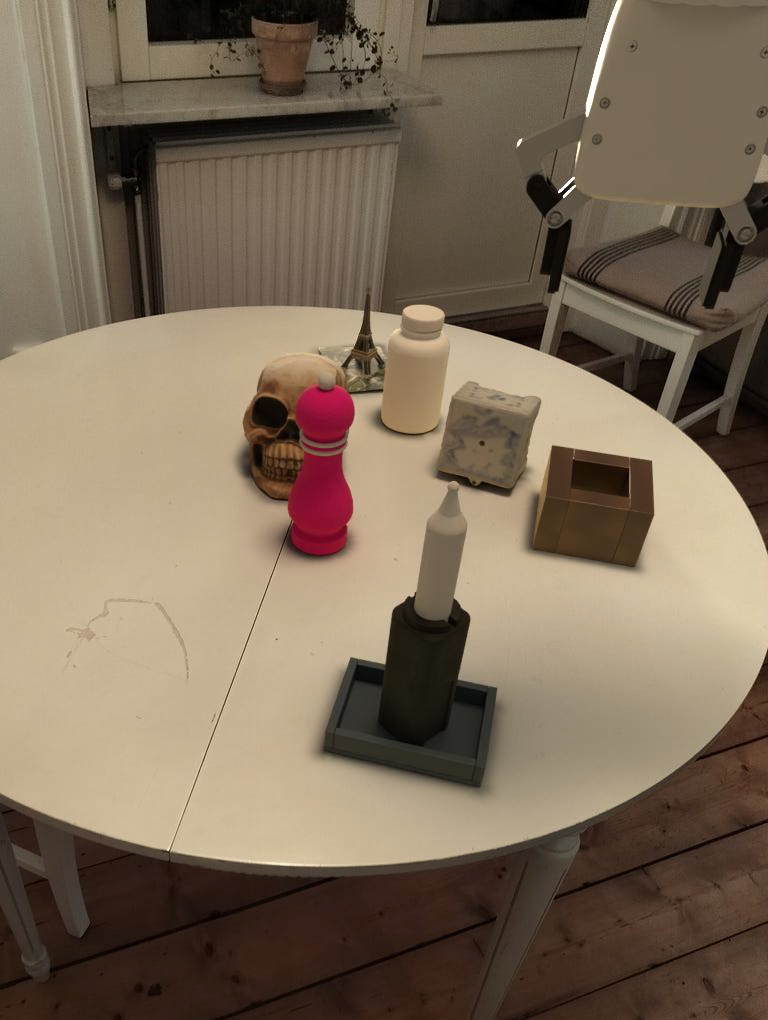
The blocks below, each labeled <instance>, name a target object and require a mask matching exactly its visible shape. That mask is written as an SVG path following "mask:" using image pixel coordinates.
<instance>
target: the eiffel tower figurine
mask: <svg viewBox="0 0 768 1020" xmlns="http://www.w3.org/2000/svg"><path fill="white" fill-rule="evenodd" d="M368 280H369V281H368V286H367V287H366V290H365V293H366V295H365V296H366V297H365V302H364V303H365V304H364V309H363V315H362V316H363V317H362V322H361V327H360V331H359V333H358V338H357V340H356V343H355V345H354V346H318V349H319V353H320V355H322V356H325V357H327V358H329V359H331V360H333V361H334V362H335V363H337V364H338V365H339V366H340V367H341V369H342V370H343V372H344V374H345V376H346V379H347V382H348V387H349V393H354V392H364V391H375V390H383V389H384V379H385V369H386V359H387V355H386V354H385V353H384V351H383V349H382V347H381V346H375V343H374V340H373V335H372V334H373V332H372V329H371V294H372V287H371V286H370V284H371V283H370V281H371V279H368Z"/></svg>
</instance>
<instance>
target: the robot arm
mask: <svg viewBox="0 0 768 1020" xmlns="http://www.w3.org/2000/svg"><path fill="white" fill-rule="evenodd" d="M575 142H577V143H576V147H575V154H574V160H573V161H574V162H573V165H574V175H573V177H572V178H571V179H570V180H569V181H568V182H567V183H566V184H565V185H564V186H563V187H561V189H559V190H558V189H557V187H556V185H555V184H554V183H553V182H552V180H551V178H550V177H549V176H548V174H547V173H546V169H545V166H544V165H545V164H544V162H543V158H544V157H545V156H546V155H549V154H550V153H553V152H555V151H557V150H559V149H561V148H564V147H566V146H568V145H571V144H572V143H575ZM764 155H766V156H768V0H616V3H615V5H614V8H613V10H612V13H611V16H610V18H609V22H608V25H607V28H606V31H605V34H604V37H603V40H602V43H601V46H600V51H599V54H598V57H597V61H596V64H595V67H594V71H593V76H592V80H591V84H590V87H589V92H588V96H587V99H586V103H585V108H584V109H582V110H579V111H577V112H575V113H573V114H571V115H569V116H566V117H564V118H563V119H560V120H558V121H556V122H554V123H552V124H549V125H547V126H545V127H543V128H540V129H538V130H536V131H534V132H532V133H530V134H528V135H526V136H523V137H521V139H519V140H518V142H517V145H516V149H515V157H516V160H517V163H518V167H519V171H520V173H521V176H522V179H523V183H524V186H525V191H526V194H527V196H528V197H529V198H530V200H531V201H532V202H533V204H534V206H535V207H536V209H537V210H538V211H539V213H540V214H541V216H542V217H543V218H544V220H545V225H546V226H547V233H546V238H545V241H544V248H543V253H542V258H541V263H540V267H539V272H538V273H539V275H543V276H549V277H548V282H547V289H546V294H550V295H551V294H552V295H555V294H556V293H559V290H560V286H561V283H562V277H563V273H564V268H565V263H566V258H567V254H568V249H569V244H570V239H571V234H572V224H573V219H571V218H572V217H573V216H574V215H575V214H576V213H577V212H579V210H581V209H582V208H583V207H584V206H585V205H586V204H587V203H588V202H589V201H591V200H592V199H596V200H603V201H612V202H624V203H637V204H646V205H647V204H648V205H660V206H673V207H685V208H686V207H688V208H702V209H719V210H720V212H721V214H722V216H723V219H724V220H725V223H724V227H721V229H720V231H717V232H716V235H715V237H714V241H713V244H712V247H711V250H710V254H709V257H708V260H707V263H706V266H705V269H704V272H703V275H702V279H701V280H700V285H699V287H698V295H699V300H700V306H701V307H703V309H704V310H711V311H712V310H714V309H715V307H716V304H717V301H718V298H719V295H720V293H729V292H730V290H731V288H732V285H733V282H734V280H735V276H736V273H737V270H738V268H739V265H740V261H741V259H742V256H743V254H744V250H745V248H746V245H749V244H751V243H752V242H753V241H754V240H755V239H756V237H757V235H759V234H760V233H762V232H763V231H764V230H766V229H767V228H768V193H766V194H765V195H764V196H763V197H761V198H759V199H758V200H756V201H755V202H754V203H751V204H750V206H748V204H747V202H746V200H745V199H746V197H747V196H748V194H749V193H750V191H751V188H752V187H753V184H754V182H755V180H756V177H757V174H758V171H759V168H760V165H761V162H762V159H763V156H764Z"/></svg>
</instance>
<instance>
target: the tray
mask: <svg viewBox="0 0 768 1020" xmlns="http://www.w3.org/2000/svg"><path fill="white" fill-rule="evenodd" d="M384 670H385V663H380V662H377V661H372V660H366V659H362V658H357V657H353V656H352V657H351V656H350V658H349V660H348V663H347V666H346V669H345V671H344V675H343V677H342V680H341V684H340V686H339V690H338V693H337V694H336V699H335V701H334V704H333V706H332V710H331V713H330V716H329V719H328V722H327V724H326V728H325V731H324V741H323V742H324V744H323V750H324V751H326V752H330V753H333V754H338V755H342V756H346V757H350V758H351V757H352V758H355V759H358V760H359V759H360V760H364V761H369V762H373V763H377V764H381V765H386V766H389V767H394V768H398V769H402V770H407V771H411V772H415V773H418V774H419V773H420V774H423V775H428V776H433V777H437V778H441V779H446V780H448V781H449V780H450V781H453V782H458V783H463V784H467V785H471V786H475V787H478V788H479V787H481V785H482V782H483V778H484V775H485V772H486V766H487V758H488V754H489V753H488V752H489V747H490V740H491V733H492V727H493V722H494V721H493V719H494V714H495V707H496V701H497V695H498V687H497V686H492V685H486V684H482V683H481V684H480V683H476V682H471V681H467V680H463V679H458V681H457V686H456V690H455V695H454V700H453V704H452V709H451V714H450V718H449V723H448V727H447V729H446V730H445V731H440V732H439V733H437V734H436V735H435V736H433V737H432V738H430V739H429V740H427V741H426V742H425V743H424V746H422V747H420V746H416V745H412V744H407V743H403V742H400V741H399V740H398V739H397V738H396V737H394V736H393V735H392V734H391V733H390V732H388V731H387V730H386V729H385V728H384V727H382V726H381V725H380V723H379V721H378V716H379V708H380V701H381V693H382V685H383V678H384Z"/></svg>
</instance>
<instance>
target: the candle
mask: <svg viewBox="0 0 768 1020" xmlns="http://www.w3.org/2000/svg"><path fill="white" fill-rule="evenodd" d="M460 488H461V486H460V484H459V483H458V482H457V481H456V480H453V481H451V482H449V483H448V484H447V492H446V494H445V495H444V497H443V499H442V500H441V503H440V504H439V507H438V508H437V509H435V510H434V511H433V512H431V514H430V515H429V516H428V517H427V520H426V525H425V533H424V537H423V538H424V540H423V544H422V545H423V546H422V552H421V558H420V565H419V571H418V578H417V584H416V591H414V594H413V596H410V595H408V596H406V597H405V599H404V601H402V602H401V603H399V604H398V605H396V606H394V607H393V609H392V611H391V619H390V625H389V632H388V633H389V634H388V640H387V647H386V655H385V663H384V664H385V670H384V678H383V685H382V693H381V701H380V708H379V716H378V721H379V723H380V725H381V726H382V727H384V728H385V729H386V730H387V731H388V732H390V733H391V734H392V735H393V736H394V737H396V738H397V739H398V740H399V741H400V742H403V743H407V744H412V745H416V746H420V747H422V746H424V743H425V742H426V741H427V740H429V739H430V738H432V737H433V736H435V735H436V734H437V733H439V732H440V731H445V730H446V729H447V727H448V723H449V718H450V714H451V709H452V704H453V700H454V695H455V690H456V686H457V681H458V680H459V676H460V672H461V667H462V664H463V663H462V662H463V658H464V653H465V648H466V644H467V640H468V634H469V629H470V625H471V620H472V618H471V615H470V613H469V612H468V611H466V610H465V609H464V608H462V605H461V604H460V603H459V601H458V600H457V599H456V598H455V593H456V588H457V584H458V583H457V582H458V577H459V573H460V567H461V563H462V558H463V557H462V556H463V553H464V552H463V551H464V547H465V542H466V537H467V533H468V522H467V519H466V516H465V515H464V514H463V512H462V510H461V505H460V499H459V490H460Z"/></svg>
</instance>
